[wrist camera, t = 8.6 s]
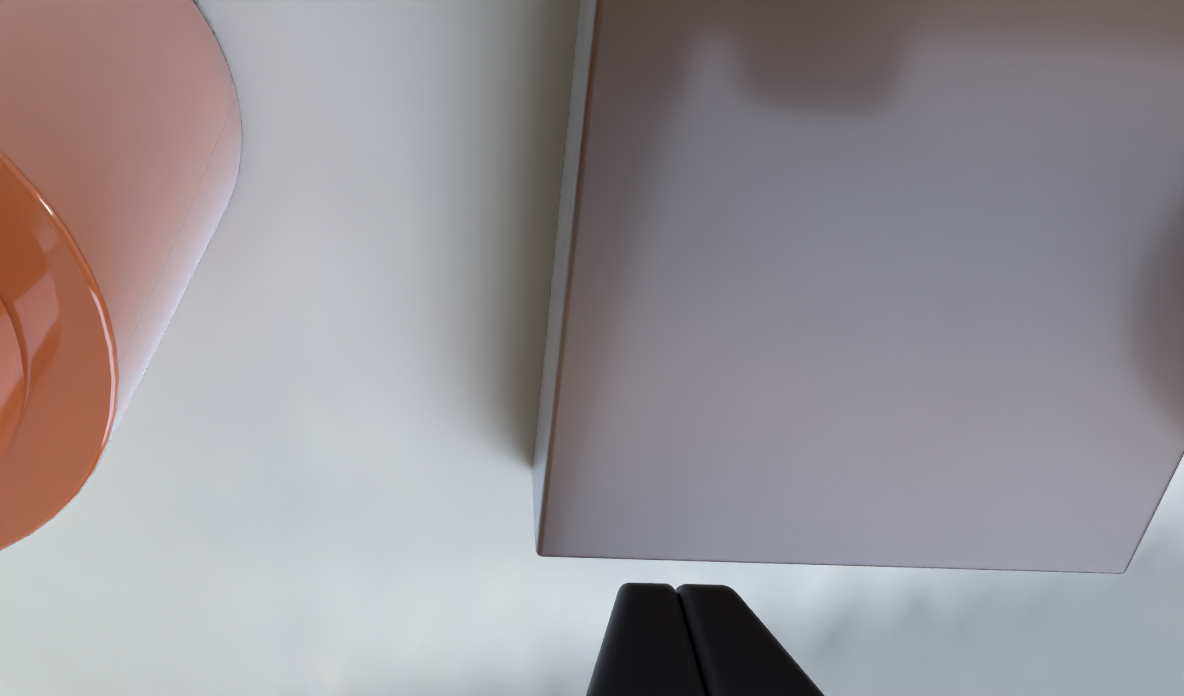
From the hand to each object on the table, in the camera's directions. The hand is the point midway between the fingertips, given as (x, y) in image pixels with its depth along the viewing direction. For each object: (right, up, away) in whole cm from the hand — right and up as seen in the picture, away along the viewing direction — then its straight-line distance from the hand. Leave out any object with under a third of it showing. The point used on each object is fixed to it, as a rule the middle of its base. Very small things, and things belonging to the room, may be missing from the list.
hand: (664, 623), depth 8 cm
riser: (+4, +5, +8) cm, 10 cm away
